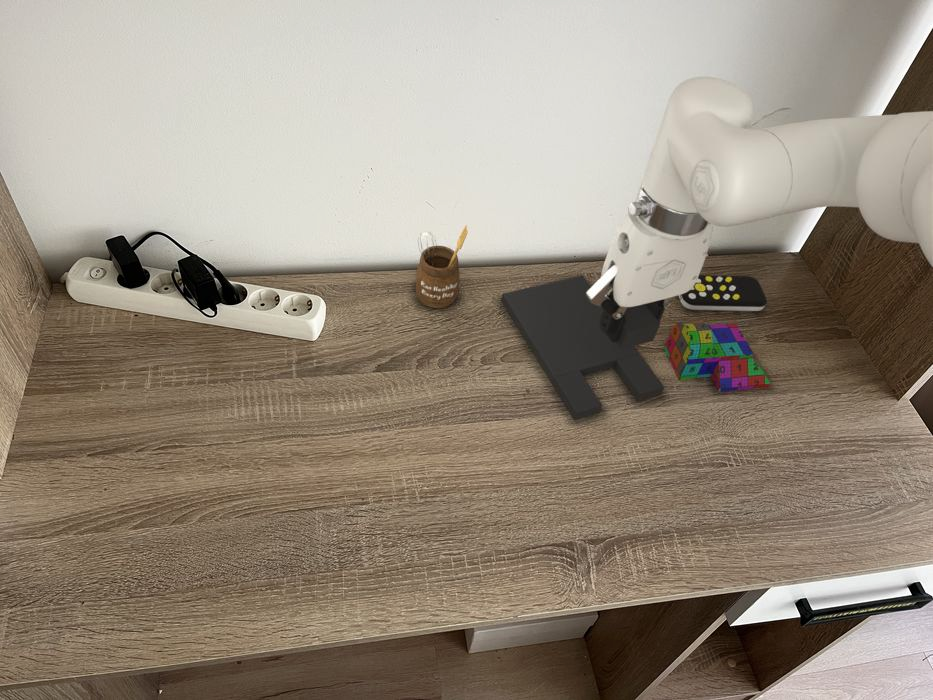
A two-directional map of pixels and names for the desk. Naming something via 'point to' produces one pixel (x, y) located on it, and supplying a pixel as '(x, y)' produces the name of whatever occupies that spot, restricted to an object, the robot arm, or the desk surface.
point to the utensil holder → (438, 274)
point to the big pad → (575, 343)
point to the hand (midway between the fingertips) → (627, 327)
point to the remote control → (725, 294)
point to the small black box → (637, 327)
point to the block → (714, 355)
